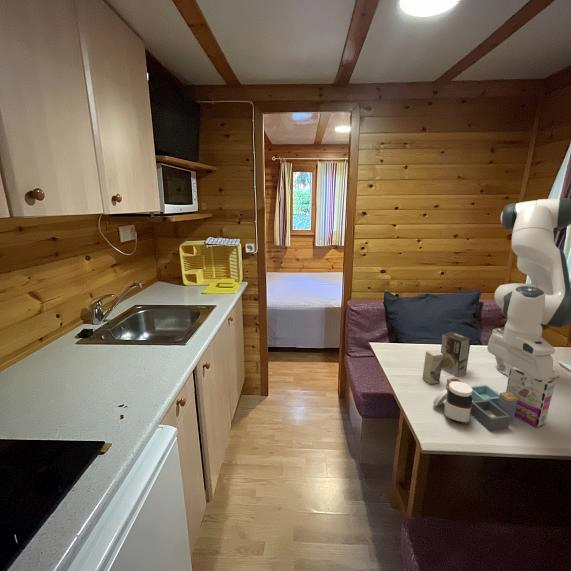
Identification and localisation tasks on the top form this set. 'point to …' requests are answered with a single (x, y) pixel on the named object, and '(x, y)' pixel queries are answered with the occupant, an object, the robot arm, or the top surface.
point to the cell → (508, 403)
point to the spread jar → (456, 401)
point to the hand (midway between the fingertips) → (512, 377)
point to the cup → (452, 381)
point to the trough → (484, 394)
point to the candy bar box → (530, 397)
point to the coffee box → (455, 353)
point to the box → (432, 366)
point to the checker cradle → (490, 415)
